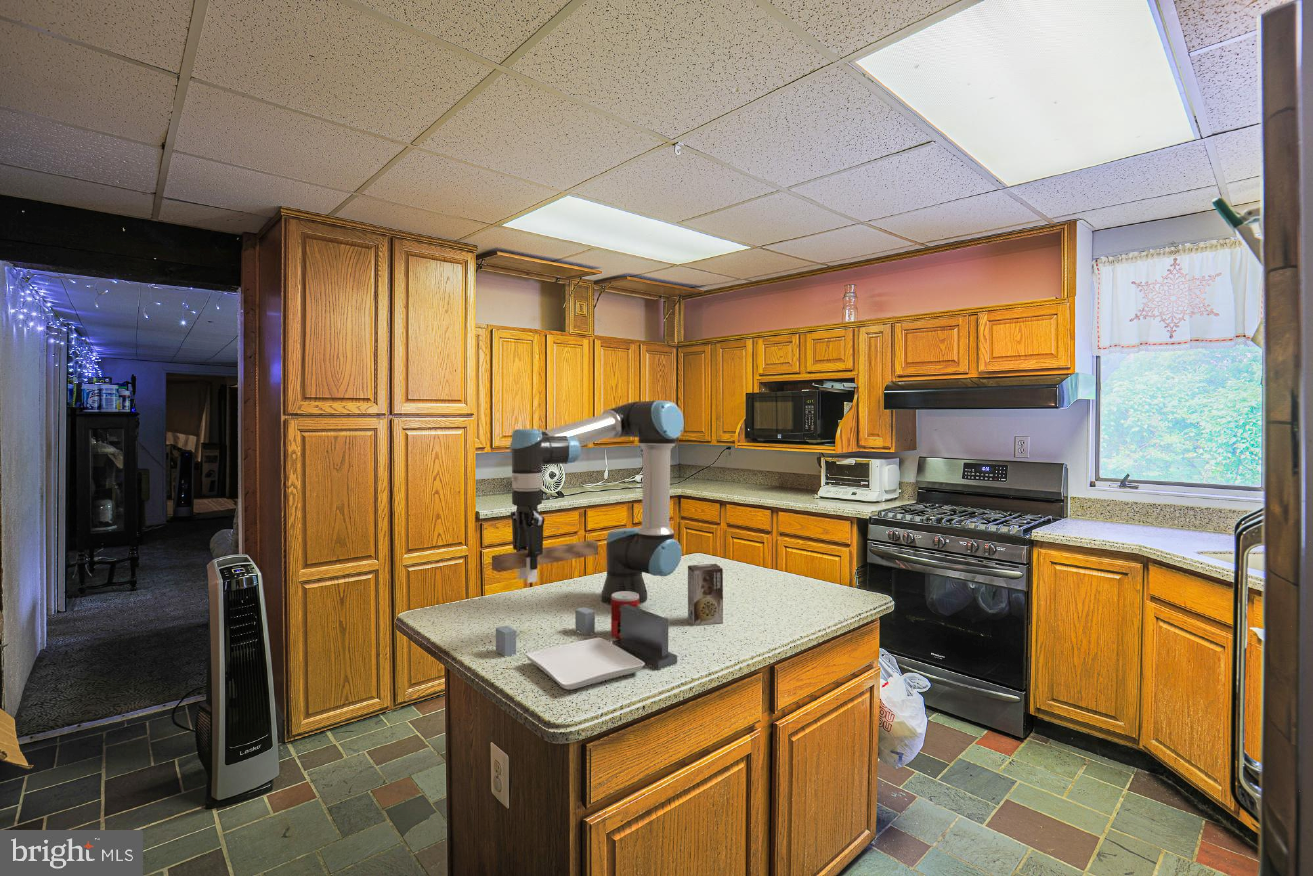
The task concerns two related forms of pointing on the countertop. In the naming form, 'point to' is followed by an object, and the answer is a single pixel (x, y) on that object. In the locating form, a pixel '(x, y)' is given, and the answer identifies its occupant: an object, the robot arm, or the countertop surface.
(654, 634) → the ridge
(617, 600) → the canned food
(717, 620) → the coffee box
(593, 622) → the support blocks
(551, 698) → the countertop surface
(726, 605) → the countertop surface
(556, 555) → the walnut bar
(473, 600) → the countertop surface
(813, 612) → the countertop surface
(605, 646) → the salad plate
